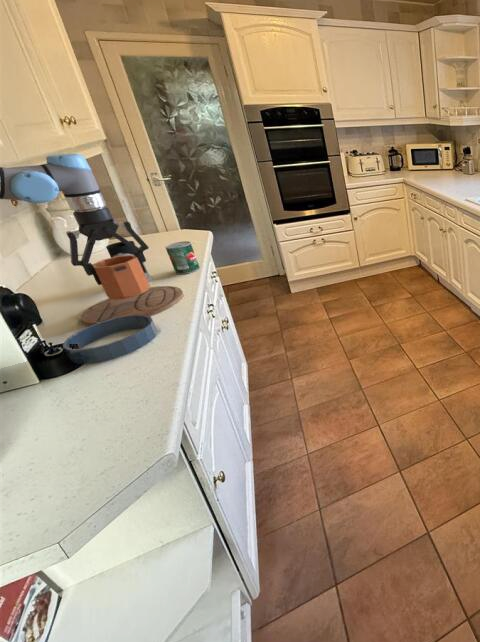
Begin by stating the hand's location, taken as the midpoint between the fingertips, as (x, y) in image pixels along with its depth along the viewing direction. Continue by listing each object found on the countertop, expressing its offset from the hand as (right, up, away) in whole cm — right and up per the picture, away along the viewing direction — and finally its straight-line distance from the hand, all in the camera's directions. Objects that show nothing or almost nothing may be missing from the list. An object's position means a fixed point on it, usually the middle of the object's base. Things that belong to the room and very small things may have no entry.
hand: (122, 277), depth 124 cm
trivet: (0, -10, +4) cm, 11 cm away
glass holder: (-19, -1, +26) cm, 32 cm away
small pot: (0, -5, +2) cm, 5 cm away
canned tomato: (-6, +2, +33) cm, 33 cm away
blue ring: (+16, -19, -17) cm, 30 cm away
